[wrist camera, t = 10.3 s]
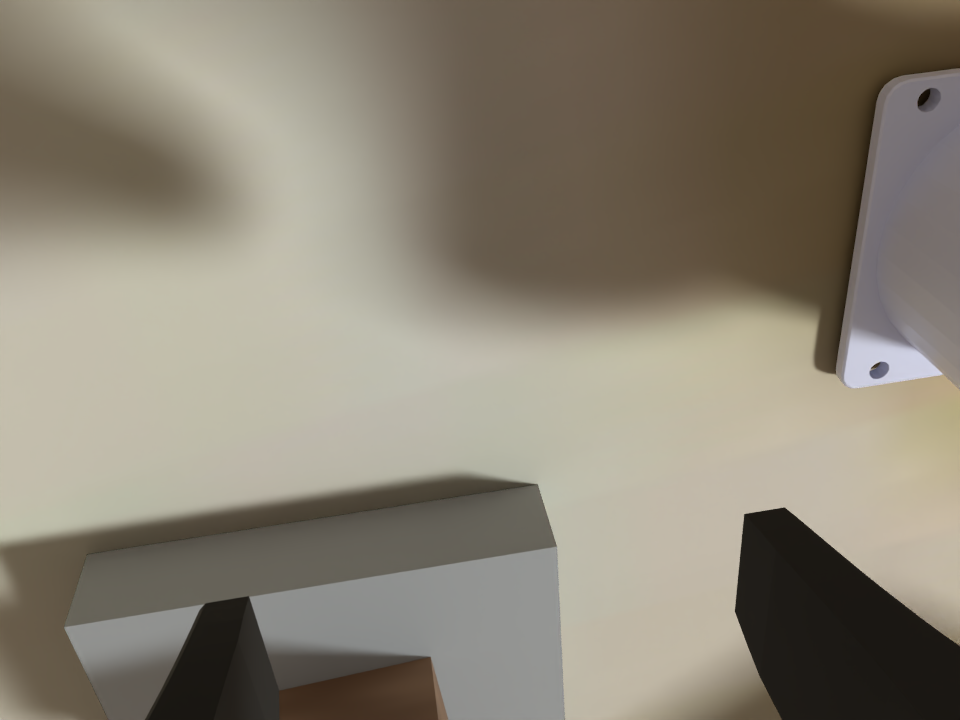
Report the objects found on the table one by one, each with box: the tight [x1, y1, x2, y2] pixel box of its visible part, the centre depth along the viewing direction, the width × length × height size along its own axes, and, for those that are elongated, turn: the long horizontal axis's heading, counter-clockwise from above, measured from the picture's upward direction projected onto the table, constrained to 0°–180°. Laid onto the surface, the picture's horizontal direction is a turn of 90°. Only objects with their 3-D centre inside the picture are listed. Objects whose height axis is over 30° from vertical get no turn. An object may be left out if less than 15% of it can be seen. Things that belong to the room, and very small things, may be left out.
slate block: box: [64, 484, 565, 720], centre depth 26 cm, size 12×12×3 cm
